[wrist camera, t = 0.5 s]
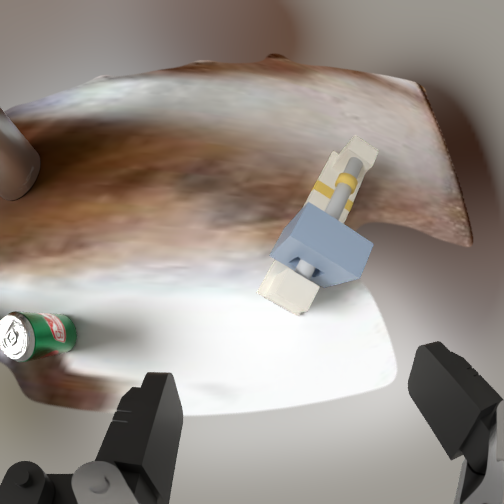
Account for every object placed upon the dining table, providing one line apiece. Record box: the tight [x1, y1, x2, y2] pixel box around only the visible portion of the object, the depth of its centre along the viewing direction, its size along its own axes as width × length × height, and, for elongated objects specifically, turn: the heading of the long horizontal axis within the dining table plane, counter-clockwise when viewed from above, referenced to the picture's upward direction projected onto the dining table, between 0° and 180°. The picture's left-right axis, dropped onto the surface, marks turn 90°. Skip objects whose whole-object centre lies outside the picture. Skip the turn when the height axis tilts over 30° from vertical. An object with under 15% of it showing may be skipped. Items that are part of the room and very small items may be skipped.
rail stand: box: [256, 135, 379, 316], centre depth 37 cm, size 24×6×6 cm, turn 151°
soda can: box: [0, 312, 77, 362], centre depth 26 cm, size 5×5×12 cm
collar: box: [269, 202, 374, 288], centre depth 33 cm, size 4×8×10 cm, turn 61°
